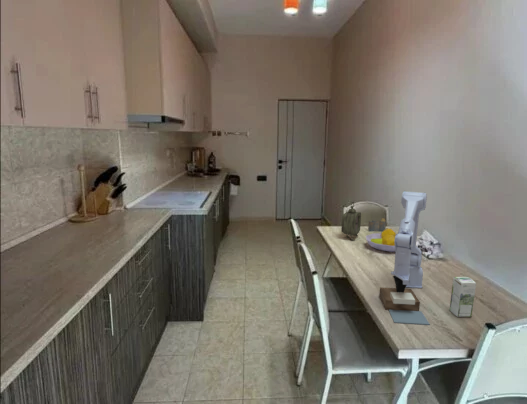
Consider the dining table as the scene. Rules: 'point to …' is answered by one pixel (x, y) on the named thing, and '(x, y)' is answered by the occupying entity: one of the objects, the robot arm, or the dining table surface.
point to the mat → (408, 317)
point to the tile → (402, 298)
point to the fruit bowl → (383, 240)
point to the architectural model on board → (377, 225)
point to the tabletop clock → (351, 222)
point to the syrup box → (462, 296)
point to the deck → (390, 305)
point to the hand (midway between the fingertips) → (399, 294)
